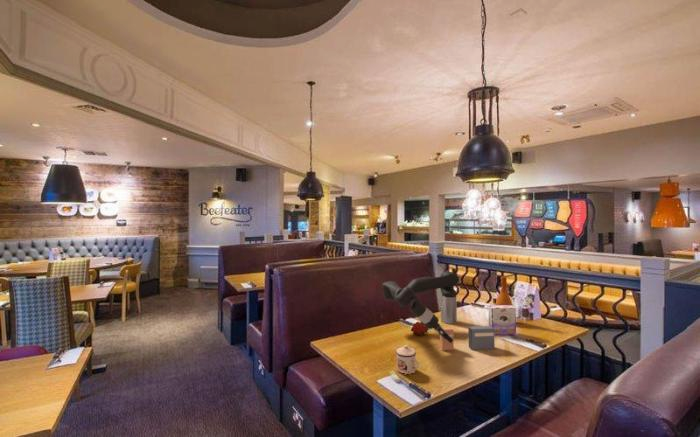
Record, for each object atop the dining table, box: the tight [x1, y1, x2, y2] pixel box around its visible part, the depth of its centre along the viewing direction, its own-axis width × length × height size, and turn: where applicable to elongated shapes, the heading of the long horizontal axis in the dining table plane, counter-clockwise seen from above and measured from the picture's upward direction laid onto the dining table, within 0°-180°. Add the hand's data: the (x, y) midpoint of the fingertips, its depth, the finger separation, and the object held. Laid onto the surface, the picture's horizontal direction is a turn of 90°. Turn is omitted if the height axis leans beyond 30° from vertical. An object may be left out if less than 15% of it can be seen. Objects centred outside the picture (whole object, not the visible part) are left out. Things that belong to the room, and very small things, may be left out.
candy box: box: [488, 304, 517, 336], centre depth 192 cm, size 14×6×16 cm, turn 84°
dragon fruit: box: [410, 321, 430, 337], centre depth 194 cm, size 8×8×12 cm
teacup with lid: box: [395, 344, 420, 375], centre depth 150 cm, size 12×9×12 cm
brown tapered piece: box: [495, 276, 513, 306], centre depth 211 cm, size 10×10×30 cm
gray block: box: [467, 325, 496, 351], centre depth 173 cm, size 12×4×11 cm, turn 91°
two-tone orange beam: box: [439, 326, 455, 351], centre depth 173 cm, size 6×4×11 cm
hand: (450, 339), depth 173 cm, fingers open, 4 cm apart
